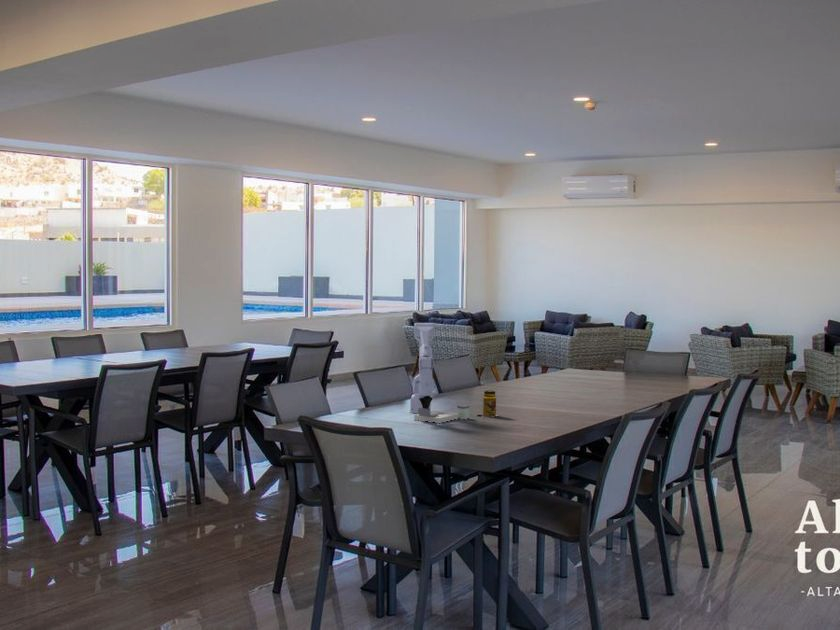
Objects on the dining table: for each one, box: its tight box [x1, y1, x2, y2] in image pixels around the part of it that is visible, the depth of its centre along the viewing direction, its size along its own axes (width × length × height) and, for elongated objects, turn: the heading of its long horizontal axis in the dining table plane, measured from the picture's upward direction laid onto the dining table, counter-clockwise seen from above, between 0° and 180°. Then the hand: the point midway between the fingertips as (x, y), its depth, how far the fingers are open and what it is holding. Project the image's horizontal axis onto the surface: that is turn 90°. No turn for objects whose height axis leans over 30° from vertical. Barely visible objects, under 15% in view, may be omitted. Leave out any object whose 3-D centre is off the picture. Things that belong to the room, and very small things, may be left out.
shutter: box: [418, 408, 439, 417], centre depth 384 cm, size 6×7×4 cm
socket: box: [413, 410, 459, 424], centre depth 389 cm, size 14×16×2 cm
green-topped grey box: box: [456, 404, 470, 420], centre depth 393 cm, size 4×4×6 cm
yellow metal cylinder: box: [482, 390, 499, 418], centre depth 401 cm, size 7×8×12 cm
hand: (425, 412), depth 382 cm, fingers closed, pressing on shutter
